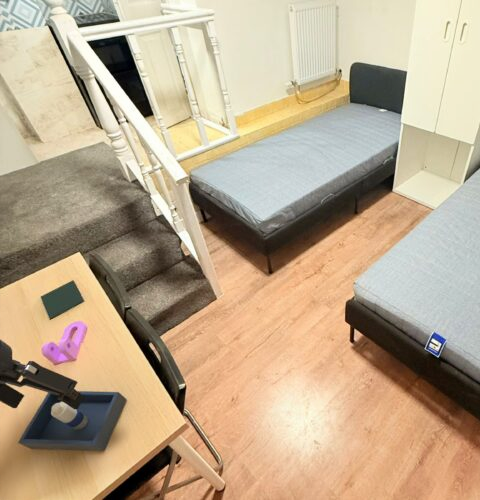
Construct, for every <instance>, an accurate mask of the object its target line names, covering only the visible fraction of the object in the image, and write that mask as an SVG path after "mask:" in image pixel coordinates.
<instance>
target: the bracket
mask: <svg viewBox="0 0 480 500" xmlns="http://www.w3.org/2000/svg"><path fill="white" fill-rule="evenodd" d="M87 330H88V326H87V324H86V323H84V322H83V321H81V320H76V321H74V322H71V323H70V324H68V325H67V326H65V328H64V330H63V333H62V336H61V338H60V341H59V344H57V343H55V342H53V341H50V342H46V343H44V344H42V347H41V355H42V356H43V357H45V359H47V360H48V361H50V363H52V364H53V365H58V364H63V363H67V362H72V361H77V358H78V355H79V352H80V349H81V345H82V343H84V340H85V337H86V333H87ZM74 332H75V335H74ZM73 335H74V337H73ZM72 338H74V339H73V340H72Z"/></svg>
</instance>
